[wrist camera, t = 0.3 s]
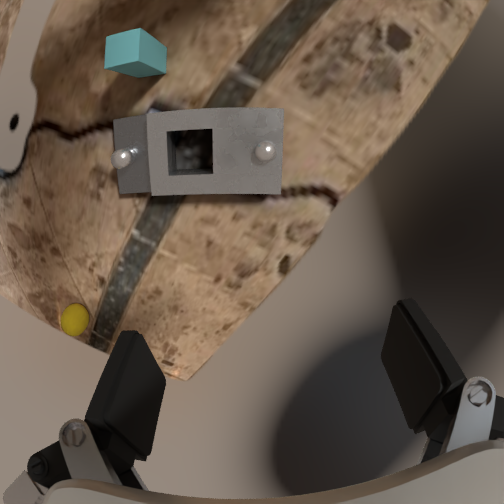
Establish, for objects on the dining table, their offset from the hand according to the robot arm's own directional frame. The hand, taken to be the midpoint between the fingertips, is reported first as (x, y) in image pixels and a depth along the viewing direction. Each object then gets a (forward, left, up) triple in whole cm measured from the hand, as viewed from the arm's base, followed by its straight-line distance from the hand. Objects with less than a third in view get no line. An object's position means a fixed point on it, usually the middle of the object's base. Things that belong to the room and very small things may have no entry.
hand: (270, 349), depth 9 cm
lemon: (+24, -34, -30) cm, 51 cm away
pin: (-17, -14, -30) cm, 37 cm away
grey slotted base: (-4, -8, -30) cm, 31 cm away
